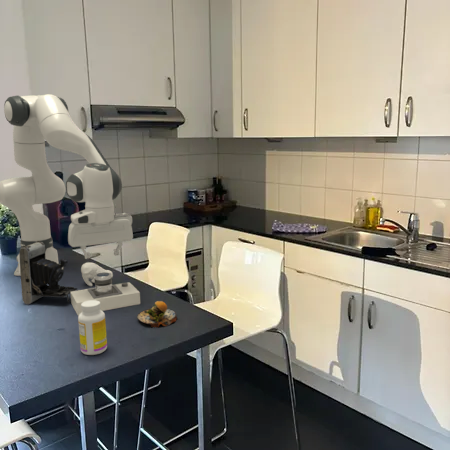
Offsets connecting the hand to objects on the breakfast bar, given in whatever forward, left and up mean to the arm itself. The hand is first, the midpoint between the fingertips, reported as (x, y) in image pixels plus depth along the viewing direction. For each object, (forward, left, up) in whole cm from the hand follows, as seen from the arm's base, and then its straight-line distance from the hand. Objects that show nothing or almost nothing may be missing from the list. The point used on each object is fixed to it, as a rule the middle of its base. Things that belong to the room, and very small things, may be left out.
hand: (102, 256), depth 147 cm
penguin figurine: (-23, +3, -16) cm, 28 cm away
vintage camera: (-11, -15, -16) cm, 25 cm away
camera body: (0, 0, -16) cm, 16 cm away
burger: (+21, +11, -17) cm, 29 cm away
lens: (0, 0, -16) cm, 16 cm away
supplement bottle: (+32, -10, -16) cm, 38 cm away
